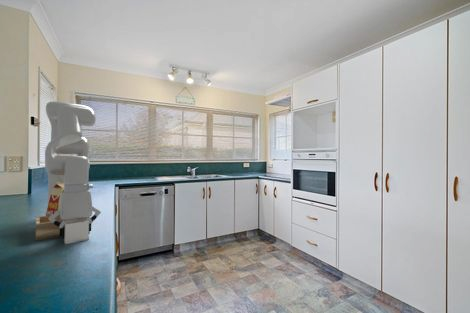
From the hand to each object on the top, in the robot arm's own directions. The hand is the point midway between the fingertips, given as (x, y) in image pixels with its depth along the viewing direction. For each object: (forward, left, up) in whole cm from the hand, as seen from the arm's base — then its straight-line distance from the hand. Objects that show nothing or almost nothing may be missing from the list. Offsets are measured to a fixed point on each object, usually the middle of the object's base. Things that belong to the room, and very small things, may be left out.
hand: (75, 235), depth 84 cm
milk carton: (-29, -3, -2) cm, 29 cm away
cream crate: (0, 0, -1) cm, 1 cm away
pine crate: (-14, -4, -1) cm, 14 cm away
